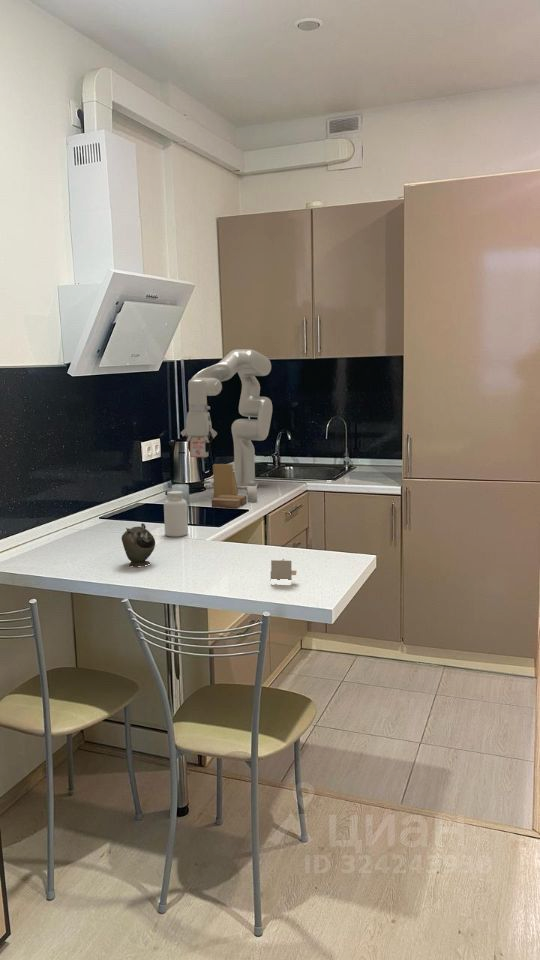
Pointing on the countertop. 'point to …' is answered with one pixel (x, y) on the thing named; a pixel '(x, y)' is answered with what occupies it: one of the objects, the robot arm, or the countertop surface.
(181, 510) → the pill bottle
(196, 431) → the robot arm
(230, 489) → the sandwich container
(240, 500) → the podium
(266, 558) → the countertop surface
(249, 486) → the salt shaker
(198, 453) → the tea bag
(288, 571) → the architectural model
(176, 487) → the mug
